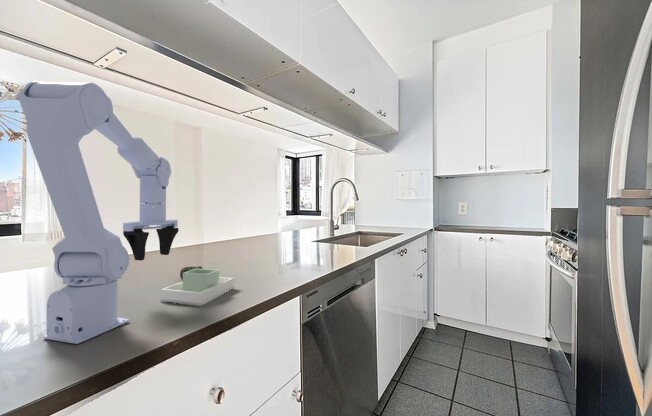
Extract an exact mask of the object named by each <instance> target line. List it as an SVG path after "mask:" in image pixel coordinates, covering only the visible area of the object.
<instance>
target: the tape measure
mask: <svg viewBox="0 0 652 416" xmlns="http://www.w3.org/2000/svg"><path fill="white" fill-rule="evenodd" d="M196 268H197V269H204V268H203V267H202V266H186V267H183V268H181V269H180V273H179V277H180V279H181V280H182V281H183V273H184V272H187V271H190V270H193V269H196Z"/></svg>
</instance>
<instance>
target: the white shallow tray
mask: <svg viewBox="0 0 652 416" xmlns="http://www.w3.org/2000/svg"><path fill="white" fill-rule="evenodd" d="M233 288H234V289H235V277H226V276H219V284H217V285H215V286H213V287H211V288H208V289H206V290H204V291H202V292H192V291H183V281H180V282H178V283H175V284H172V285H170V286H167V287H163V288H161V289H160V302H161V303H167V302H173V303H172V304H176V303H179V305H185V304H186V306H195V307H202V306H203V305H205V304H207V303H209V302H211V301H213V300H215V299H217V298H219V297H220V296H223V295H224V293H225V294H227V293H228V292H230V291H232V290H234V289H233ZM231 289H232V290H231ZM229 290H230V291H229ZM226 292H227V293H226Z"/></svg>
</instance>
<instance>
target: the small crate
mask: <svg viewBox="0 0 652 416" xmlns="http://www.w3.org/2000/svg"><path fill="white" fill-rule="evenodd" d="M219 277H220V270H219V269H212V268H211V269H209V268H208V269H207V268H203V269H197V268H196V269H193V270H190V271H187V272H184V273H183V280H182V282H183V291H192V292H202V291H204V290H206V289H208V288H211V287H213V286H215V285H217V284H219Z"/></svg>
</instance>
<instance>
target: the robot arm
mask: <svg viewBox="0 0 652 416" xmlns="http://www.w3.org/2000/svg"><path fill="white" fill-rule="evenodd" d="M16 96H17V99H18V101H19V103H20V106H21V110H22V112H23V115H24V117H25V120H26V134H27V139H28V141H29V144H30V146H31V149H32V152H33V155H34V157H35V160H36V163H37V165H38V169H39V170H40V173H41V176H42V180H43V182H44V184H45V186H46V190H47V192H48V195H49V197H50V201H51V203H52V206H53V208H54V209H53V210H54V211H55V214H56V217H57V219H58V222H59V224H60V225H59V226H60V228H61V231H62V233H63V237H62V238H61V239H59V240H58V241H57V242H56V243H55V244H54V246H53V247H52V252H53V255H54V263H53V265H54V266H53V268H54V272H55V274H56V276H58V277H59V278H60V279H62V280H63V281H62V284H63V285H65V287H63V288H61V289H58V290H56V291H53V292H52V293H50V294H49V296H48V298H47V302H46V334H45V335H43V339H46V340H52V341H57V342H63V343H69V344H73V345H74V344H75V345H77V344H81V343H82V342H86V341H88V340H89V339H92V338H94V337H97V336H99V335H101V334H104V333H106V332H108V331H111V330H113V329H115V328H117V327H119V326H122V325H124V324H127V323H128V322H130V319H129V318H125V317H118V299H119V298H118V291H119V290H118V289H119V288H118V285H119V284H118V281H119V279H122V277H123V275H124V274H125V273H126V271H127V270H128V268H129V265H130V253H129V251H128V250H127V248H125V246H124V245H123V243H122V241H121V238H120V236H118V235H117V234H115V233H113V232H111V231H110V230H108V229H107V228H105V227H104V224H103V221H102V218H101V215H100V211H99V208H98V204H97V201H96V198H95V195H94V191H93V187H92V185H91V181H90V179H89V174H88V172H87V171H88V170H87V168H86V165H85V162H84V158H83V155H82V151H81V149H80V145H79V143H80V141H81V140H82V139H83V138H84V137H85V136H87V135H89V134H91V132H93V131H95V130H96V131H98V133H100V134H101V135H102V136H104V137H106V138H107V139H108V140H109V141H110V142H111V143H113V144H114V145H116V146H117V154H118V155H119V156H120V157H121V158H123V160H125V161H126V162H127V163H129V165H131V169H133V172H134V175H135V176H136V178H137V179H139V221H131V222H130V221H129V222H123V223H122V233H123V236H124V238H125V239H126V241H127V242H128V244H129V247H130V249H131V251H132V253H133V254H132V255H133V257H134V258H133V259H134V260H135V261H144V260H145V257H146V246H147V242H148V241H147V240H148V237H149V234H150V232H149V231H144V230H155V229H156V233H157V237H158V241H159V255H161V256H163V255H164V256H169V254H170V251H171V247H172V245H173V242H174V240H175V238H176V236H177V235H178V233H179V227H178V219H167V188H168V186H169V183H170V181H169V179H170V177H171V174H172V169H171V164H170V162H169V160H168V159H166V158H164V157H162V156H158V154H156V153H155V151H154V150H153V149H152V148H151V147H150V146H149V145H148V144H147V142H146V141H144V139H143V138H142V137H139V136H133V135H132V134H131V133H130V131H128V130H127V128H126V127H125V126H124V124H122V122H121V121H120V120H119V118H118V117H117V116H116V115H115V114H114V109H113V102H112V99H111V98H110V97H109V96H108V95H107V94H106V92H105V91H104V90H103V88H102V87H100V85H98V84H96V83H95V82H88V81H86V82H82V83H81V82H53V81H52V82H51V81H50V82H48V81H47V82H46V81H45V82H44V81H40V80H31V81H30V82H28V83H27V84H25V86H24V87H23V88H22V89H21V90H20V91H19V92H18V93H17V95H16Z"/></svg>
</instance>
